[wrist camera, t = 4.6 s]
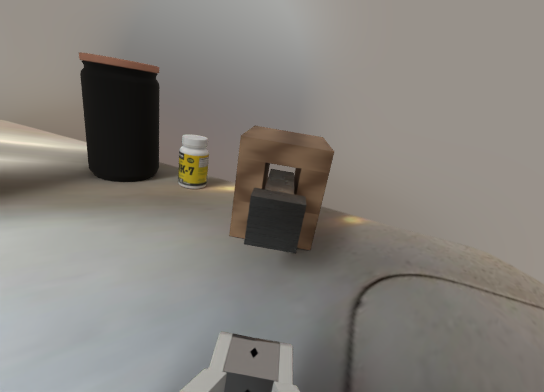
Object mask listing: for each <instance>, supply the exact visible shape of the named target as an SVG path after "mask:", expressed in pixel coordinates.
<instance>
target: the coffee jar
mask: <svg viewBox="0 0 544 392" xmlns="http://www.w3.org/2000/svg"><path fill="white" fill-rule="evenodd" d="M79 58H80V60H83V61H82V62H83V64H84V68H83V69H82V70H81V85H82V97H83V108H84V118H85V129H86V141H87V152H88V163H89V169H90V170H91V171H92V172H93V173H94V175H95V176H97V177H98V178H101V179H104V180H109V181H118V182H134V181H142V180H146V179H149V178H151V177H153V176H154V174H155V173H156V172H157V170H158V168H159V83H158V81H157V80H156V76H157V73H159V67H157V66H152V65H148V64H143V63H138V62H133V61H128V60H122V59H117V58H112V57H106V56H100V55H94V54H88V53H79Z"/></svg>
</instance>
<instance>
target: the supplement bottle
mask: <svg viewBox="0 0 544 392" xmlns="http://www.w3.org/2000/svg"><path fill="white" fill-rule="evenodd" d="M207 141H208V139H207V138H206V137H203V136H199V135H183V138H182V144H183V145H184V146H182V147H181V148H180V151H179V177H178V183H179V185H180V186H182V187H185V188H189V189H200V188H203V187H205V186H206V183H207V171H208V158H209V151H208V150H207V149H206V147H207Z"/></svg>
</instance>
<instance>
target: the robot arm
mask: <svg viewBox="0 0 544 392" xmlns="http://www.w3.org/2000/svg"><path fill="white" fill-rule="evenodd" d="M179 392H300V391H299V389H298V387H297V386H296V385H293V346H292V344H286V343H281V342H276V341H271V340H265V339H259V338H251V337H247V336H242V335H237V334H232V333H227V332H222V331H221V332H220V334H219V337H218V340H217V343H216V346H215V349H214V353H213V356H212V359H211V362H210V365H209V369H204V370H202V371H201V372H200V373H199V374H198V375H197V376H196V377H195V378H194V379H193V380H191V381H190V382H189V383H188V384H187V385H186V386H185V387H184V388H183V389H182V390H180V391H179Z"/></svg>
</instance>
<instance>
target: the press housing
mask: <svg viewBox="0 0 544 392" xmlns="http://www.w3.org/2000/svg"><path fill="white" fill-rule="evenodd" d="M333 155H334V151H333V149H331V147H330V146H329V144H328V143H327V142H326V141H325V139H324V138H323V137H317V136H311V135H306V134H300V133H294V132H288V131H283V130H277V129H271V128H265V127H259V126H254V127H252V128H251V129H250V130H248V131H247V132H245V133H244V134H243V135H241V140H240V148H239V157H238V166H237V174H236V183H235V192H234V200H233V209H232V218H231V226H230V235H229V236H233V237H238V238H244V239H245V233H246V226H247V219H248V212H249V204H250V197H251V194H252V191H253V189H254V188H260V189H265V187H266V184H267V180H268V171H269V165H270V163H272V164H277V165H283V166H289V167H295V168H296V170H295V175H294V194H295V195H300V196H305V197H306V210H305V214H304V219H303V223H302V228H301V232H300V237H299V241H298V246H297V248H300V249H306V250H310V249H311V245H312V241H313V237H314V233H315V229H316V225H317V221H318V216H319V212H320V208H321V204H322V200H323V196H324V192H325V187H326V184H327V180H328V176H329V171H330V167H331V163H332V159H333Z"/></svg>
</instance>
